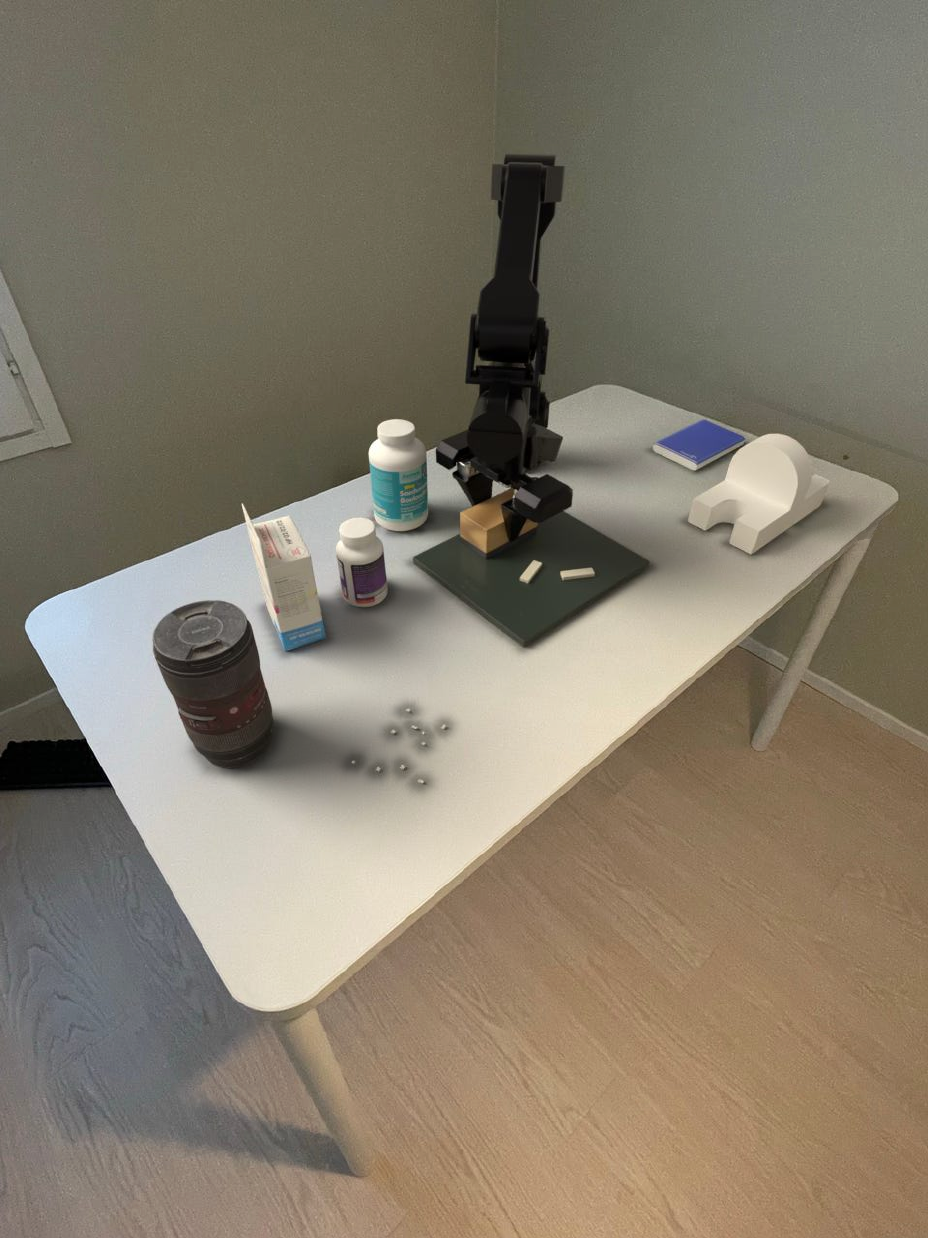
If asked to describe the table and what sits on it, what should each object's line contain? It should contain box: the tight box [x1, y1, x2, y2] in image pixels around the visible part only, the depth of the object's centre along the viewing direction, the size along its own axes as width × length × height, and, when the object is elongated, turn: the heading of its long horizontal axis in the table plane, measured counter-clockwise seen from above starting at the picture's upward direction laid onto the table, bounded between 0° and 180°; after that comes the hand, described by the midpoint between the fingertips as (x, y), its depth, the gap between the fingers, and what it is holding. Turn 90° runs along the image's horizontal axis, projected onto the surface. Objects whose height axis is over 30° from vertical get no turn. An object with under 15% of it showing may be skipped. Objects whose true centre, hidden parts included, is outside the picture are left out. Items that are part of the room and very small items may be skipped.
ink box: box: [241, 503, 327, 652], centre depth 76 cm, size 8×5×15 cm, turn 26°
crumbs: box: [351, 708, 446, 784], centre depth 68 cm, size 8×7×1 cm
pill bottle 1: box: [335, 517, 389, 608], centre depth 82 cm, size 5×5×10 cm
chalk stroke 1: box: [520, 560, 542, 583], centre depth 86 cm, size 4×1×1 cm, turn 151°
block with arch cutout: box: [687, 433, 830, 555], centre depth 94 cm, size 18×10×11 cm, turn 131°
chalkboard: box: [412, 510, 651, 648], centre depth 89 cm, size 20×22×1 cm
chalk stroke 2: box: [560, 568, 595, 580], centre depth 86 cm, size 4×1×1 cm, turn 101°
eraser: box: [459, 487, 538, 559], centre depth 90 cm, size 5×9×4 cm, turn 131°
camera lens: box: [152, 599, 274, 769], centre depth 64 cm, size 8×8×15 cm
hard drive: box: [652, 419, 746, 471], centre depth 110 cm, size 2×8×12 cm
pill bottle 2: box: [368, 418, 429, 532], centre depth 92 cm, size 8×7×14 cm
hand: (498, 531), depth 91 cm, fingers closed on eraser, 5 cm apart
